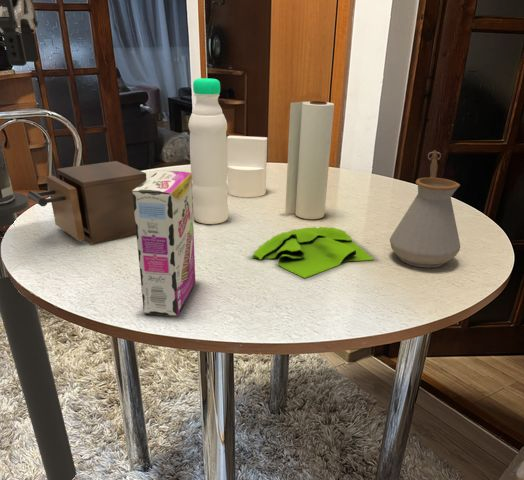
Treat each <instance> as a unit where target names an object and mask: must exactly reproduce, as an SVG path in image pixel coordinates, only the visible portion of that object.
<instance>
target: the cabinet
mask: <svg viewBox="0 0 524 480" xmlns="http://www.w3.org/2000/svg"><path fill="white" fill-rule="evenodd" d="M55 170H56V173H57V178H58V179H60V180H62V181H63V179H62V176H63V177H65V178H67V179H69V180H71V181H73V182H75V183H77V184H78V185H80V186H82V190H83V197H84V203H85V209H86V215H87V221H88V227H89V234H90V235H89V234H88V233H86V232H85V231H84V237H85V240H86V241H87V242H89V243H91V244H92V245H95V244H101V243H104V242H110V241H115V240H118V239H123V238H127V237H132V236H137V235H136V224H135V214H134V203H133V194H132V191H133V190H134V189H135V188H137V187H138V186H139V185H141V184H142V183H143V182H145V181H146V180H147V179H148V178H147V173H146V172H144V171H142V170H139V169H137V168H134V167H133V166H132V167H131V166H130V165H127V164H124V163H122V162H119V161H118V160H114V161H107V162H106V161H105V162H98V163H91V164H83V165H76V166H69V167H68V166H67V167H61V168H56V169H55Z"/></svg>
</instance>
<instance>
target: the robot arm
mask: <svg viewBox="0 0 524 480" xmlns="http://www.w3.org/2000/svg"><path fill="white" fill-rule="evenodd" d="M38 25H39V23H38V20H37V16H36V10H35V4H34V0H0V33H1V34H2V37H3V43H4V47H5V51H6V56H7V62H8V64H9V65H10V66H12V67H24V66H26V65H27V63H36V62H39V61H40V54H39V50H38V49H39V48H38V43H37V38H36V33H37V28H38ZM10 177H11V176H10V173H9V169H8V164H7V160H6V156H5V151H4V147H3V143H2V139H1V137H0V206H3V205H7V204H10V203H12V202H14V201H15V196H14V194H13V192H14V190H13V186H12V182H11V178H10Z"/></svg>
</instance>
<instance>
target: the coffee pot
mask: <svg viewBox="0 0 524 480" xmlns="http://www.w3.org/2000/svg"><path fill="white" fill-rule="evenodd" d="M430 155H431V157H429V156H430ZM438 155H439V156H438ZM427 158H428V160H430V161H431V163H430V166H429V175H430V176H429V177H421V178H417V179H416V180H415V184H416V186H417V194H416V196H415V197H414V199H413V201H412V202H411V204H410V205H409V207H408V209H407V210H406V212H405V214H403V217H402V218H401V220H400V221H399V223H398V224H397V226H396V228H395V229H394V230H393V233H392V234H391V236H390V238H389V243H390V247H391V250H392V251H393V253H395V255H397V257H398V259H399V260H400V261H401V262H403V263H404V264H407V265H409V266H414V267H419V268H427V269H430V268H431V269H432V268H439V267H441V266H444V264H445V263H448V262H450V261H451V260H453V259H454V258H455V257H456V256H457V255H458V254H459V252H460V250H461V242H460V237H459V232H458V227H457V221H456V217H455V212H454V207H453V201H452V196H453V195H454V193H455V192H456V191H457V190H458V188H460V187H461V184H460V183H458V182H456V181H454V180H451V179H447V178H440V177H437V175H438V167H439V164H438V161H439V160H440V159H441V158H442V154H441V153H440V152H439V151H437V150H436V149H434V150H432V151H431V152H429V153H428V154H427Z"/></svg>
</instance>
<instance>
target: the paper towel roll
mask: <svg viewBox="0 0 524 480" xmlns="http://www.w3.org/2000/svg"><path fill="white" fill-rule="evenodd" d="M289 106H290V107H289V124H288V125H289V126H288V144H287V145H288V148H287V164H286V165H287V166H286V168H287V169H286V170H287V171H286V188H285V189H286V190H285V191H286V192H285V207H284V208H285V210H284V214H285V215H289V214H293V213H295V216H296V217H298V218H301V219H305V220H320V219H323V217H325V212H326V201H327V189H328V178H329V169H330V168H329V167H330V157H331V147H332V136H333V123H334V113H335V103H332V102H328V101H321V100H311V101H297V102H296V101H295V102H290V105H289Z"/></svg>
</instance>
